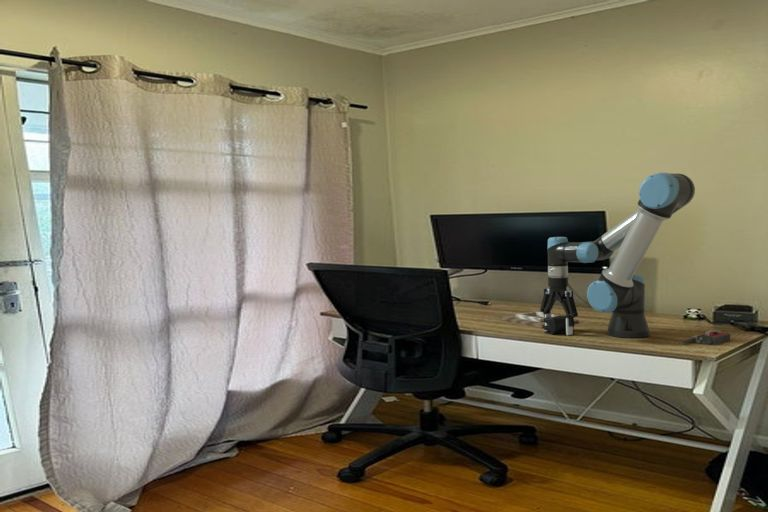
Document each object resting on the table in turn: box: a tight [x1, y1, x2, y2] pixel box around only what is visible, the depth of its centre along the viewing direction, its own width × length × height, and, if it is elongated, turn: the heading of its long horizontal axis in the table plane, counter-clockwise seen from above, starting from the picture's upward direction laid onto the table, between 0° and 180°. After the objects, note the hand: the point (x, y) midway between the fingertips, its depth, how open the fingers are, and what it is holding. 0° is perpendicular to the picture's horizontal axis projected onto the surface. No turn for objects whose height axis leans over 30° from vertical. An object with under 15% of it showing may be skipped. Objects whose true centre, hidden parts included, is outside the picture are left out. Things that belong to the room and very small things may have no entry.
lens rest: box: [499, 311, 580, 329], centre depth 284 cm, size 28×20×3 cm
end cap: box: [543, 314, 576, 335], centre depth 256 cm, size 10×7×7 cm
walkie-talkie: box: [681, 329, 731, 346], centre depth 229 cm, size 9×4×20 cm
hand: (558, 332), depth 256 cm, fingers open, 11 cm apart
